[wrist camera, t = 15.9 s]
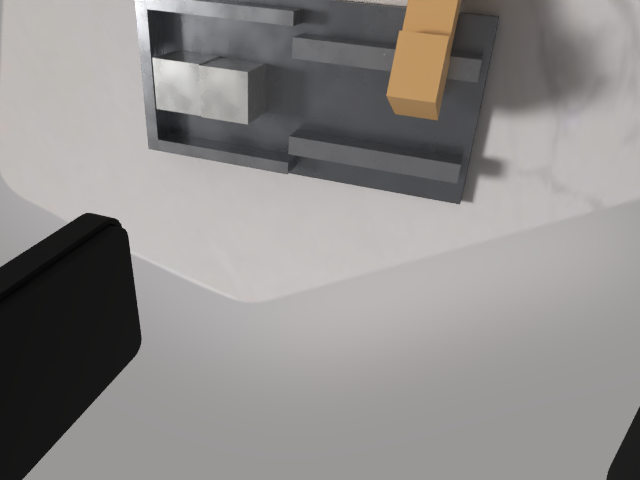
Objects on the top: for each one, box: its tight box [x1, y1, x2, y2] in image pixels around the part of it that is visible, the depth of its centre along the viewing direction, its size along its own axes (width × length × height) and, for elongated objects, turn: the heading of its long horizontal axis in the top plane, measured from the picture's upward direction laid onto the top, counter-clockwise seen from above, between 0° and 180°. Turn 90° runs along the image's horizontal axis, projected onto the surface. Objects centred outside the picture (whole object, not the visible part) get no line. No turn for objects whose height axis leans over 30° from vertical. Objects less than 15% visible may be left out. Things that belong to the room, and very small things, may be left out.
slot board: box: [135, 0, 499, 204], centre depth 43 cm, size 14×27×3 cm, turn 86°
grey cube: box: [199, 57, 266, 125], centre depth 44 cm, size 4×4×4 cm
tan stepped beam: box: [386, 0, 462, 120], centre depth 35 cm, size 5×3×12 cm
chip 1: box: [152, 51, 220, 116], centre depth 45 cm, size 4×4×4 cm
